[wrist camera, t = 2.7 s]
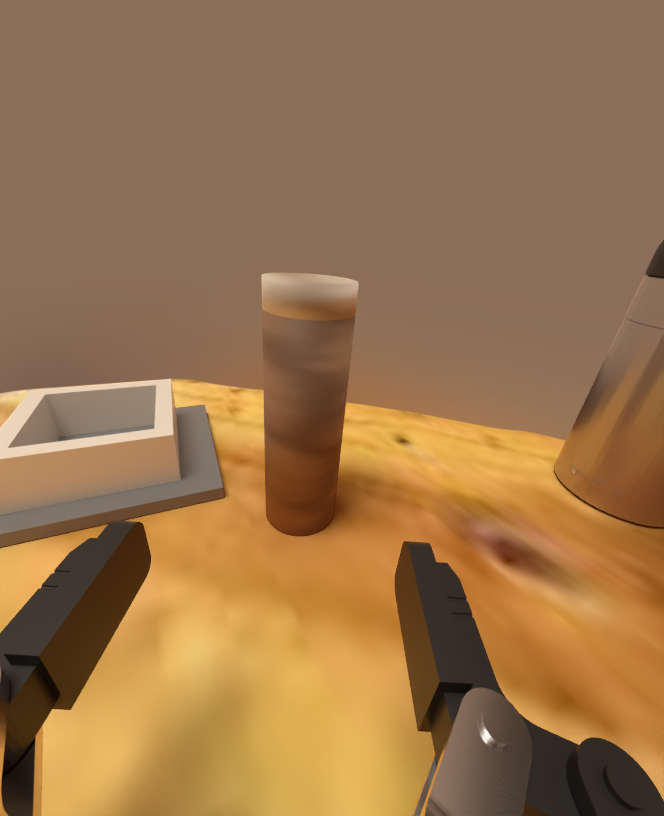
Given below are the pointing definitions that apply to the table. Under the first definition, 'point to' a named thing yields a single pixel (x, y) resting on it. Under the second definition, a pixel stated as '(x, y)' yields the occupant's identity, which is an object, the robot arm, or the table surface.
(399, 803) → the table surface
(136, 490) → the post well
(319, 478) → the walnut post
